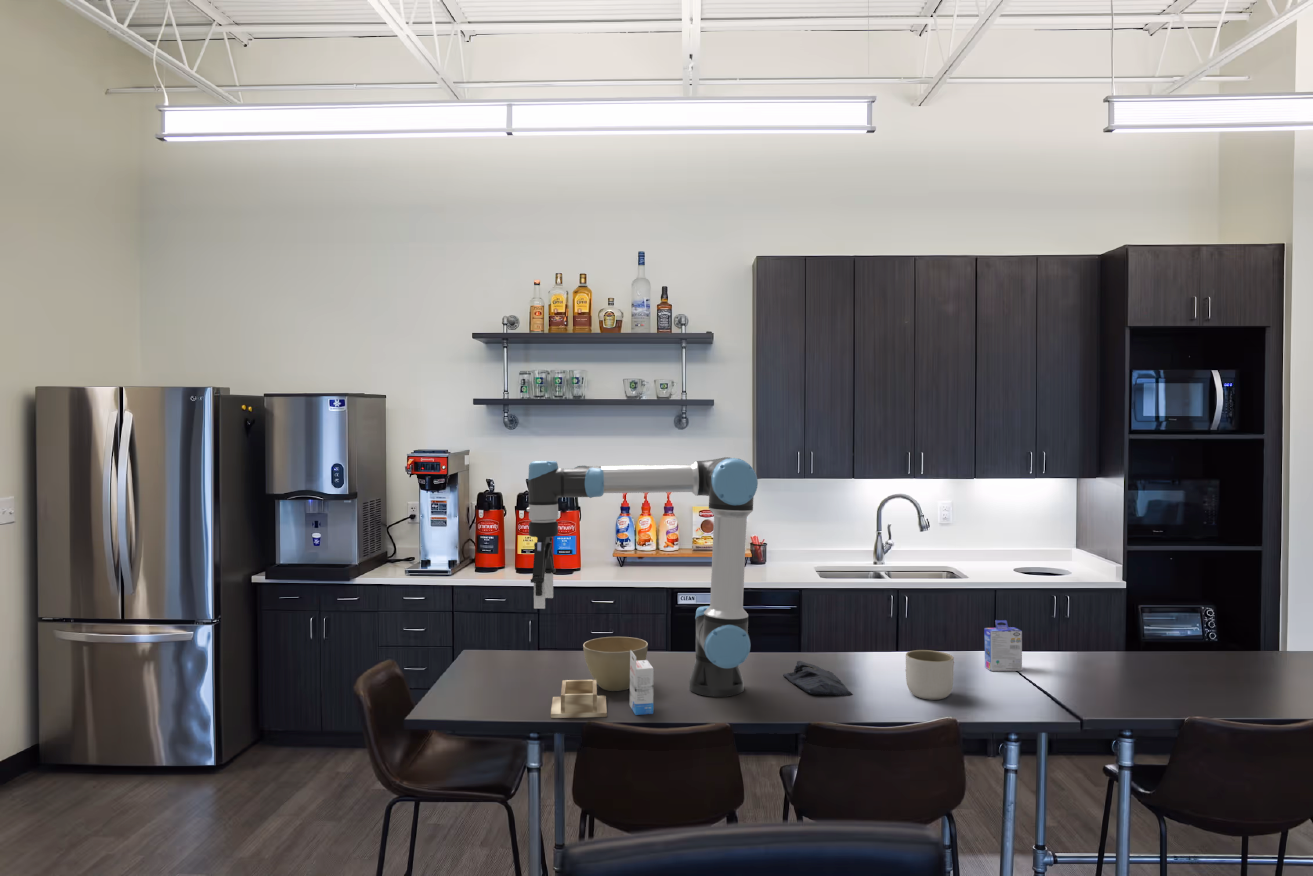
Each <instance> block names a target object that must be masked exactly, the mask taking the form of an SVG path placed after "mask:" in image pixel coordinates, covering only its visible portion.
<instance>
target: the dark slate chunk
mask: <svg viewBox="0 0 1313 876" xmlns="http://www.w3.org/2000/svg"><path fill="white" fill-rule="evenodd" d="M782 676H783V677H784V678H786V679H787V680H788V681H789V682H790V683H791V684H793V685H795V686H798V688H799V689H801V690H802V691H804V692H806V693H807V694H810V695H825V694H826V696H842V697H843V696H844V697H846V696H851V695H853V693H852V692H851V691H850V690H849V689H848V688H847V687H846V686H845V684H844V683H843V682H842V681H841V680H840V679H839V678H838V676H836V674H834V673H833V672H831V671H829V670H825V669H823V668H822V667H819V666H817V665H815V664H813V663H812V664H811V663H808V662H804V661H803V660H802V661H801V660H798V661H796V666H795V667H794V669H793V672H787V673H783V675H782Z"/></svg>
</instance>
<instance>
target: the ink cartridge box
mask: <svg viewBox="0 0 1313 876" xmlns="http://www.w3.org/2000/svg"><path fill="white" fill-rule="evenodd" d="M994 622H995V623H994V624H995V627H984V631H983V632H984V633H983V634H984V635H983V636H984V668H986V669H987V670H989V671H991V672H1006V671H1007V672H1010V671H1011V672H1013V671H1014V672H1018V671H1019V672H1022V671H1023V630H1021V629H1019V628H1017V627H1013V626H1012V627H1011V626H1010V627H1009V625H1008V621H1007V620H1006V619H1004V620H1003V619H1002V620H998V619H995V621H994ZM999 623H1001V624H999Z"/></svg>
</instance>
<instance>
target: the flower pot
mask: <svg viewBox="0 0 1313 876" xmlns="http://www.w3.org/2000/svg"><path fill="white" fill-rule="evenodd" d="M582 646H583V647H582V648H583V649H582V650H583V654H584V655H583V656H584V660H585V663H586V666H587V668H588V671H589V673H590V675H591V676H592V678H593V680H596V684H597V685H598V686H599V687H600V688H601V689H602V690H604V691H609V692H621V691H625V690H628V689H629V690H630V650H631V651H632V652H633V653H634V655H635V656H636V661H640V660H647V659H646V658H647V656H648V655H647V654H648V647H649V646H648V642H647V641H646V640H644V639H641V638H638V637H629V636H606V637H598V638H593V639H590V640H587V641H585V642H584V643H583V645H582ZM632 659H633V661H634V658H633V657H632Z"/></svg>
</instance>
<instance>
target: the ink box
mask: <svg viewBox="0 0 1313 876" xmlns="http://www.w3.org/2000/svg"><path fill="white" fill-rule="evenodd" d="M632 657H633V658H634V661H633V659H632ZM654 672H655V671H654V667H653V666H652V664H651V663H650V661H649V660H648V659H646V660H640V661H636V656H635V655H634V653H633V652H632V651H631V650H630V688H629V707H630V709H631V711H632V712H633V713H634V715H635V716H639V715H640V716H642V715H653V714H654Z"/></svg>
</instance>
